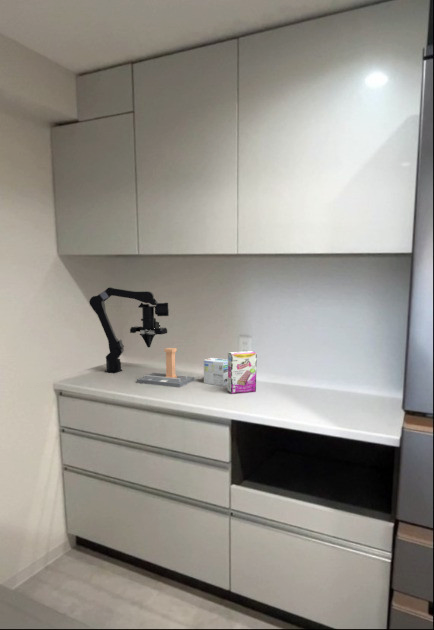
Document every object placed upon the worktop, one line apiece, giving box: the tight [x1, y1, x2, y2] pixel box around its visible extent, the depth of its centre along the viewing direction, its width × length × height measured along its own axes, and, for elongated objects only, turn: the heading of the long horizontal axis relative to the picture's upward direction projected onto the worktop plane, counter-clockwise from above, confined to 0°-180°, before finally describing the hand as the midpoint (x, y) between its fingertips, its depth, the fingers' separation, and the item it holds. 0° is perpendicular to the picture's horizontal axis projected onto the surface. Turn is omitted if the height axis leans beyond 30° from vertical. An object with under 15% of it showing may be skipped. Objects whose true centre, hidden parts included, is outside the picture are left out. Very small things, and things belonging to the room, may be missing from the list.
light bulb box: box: [203, 357, 228, 387], centre depth 193 cm, size 11×7×11 cm, turn 58°
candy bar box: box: [227, 350, 258, 395], centre depth 178 cm, size 11×5×16 cm, turn 109°
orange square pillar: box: [163, 347, 178, 378], centre depth 195 cm, size 4×4×13 cm
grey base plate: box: [136, 371, 195, 388], centre depth 197 cm, size 22×14×3 cm, turn 66°
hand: (148, 347), depth 218 cm, fingers closed
